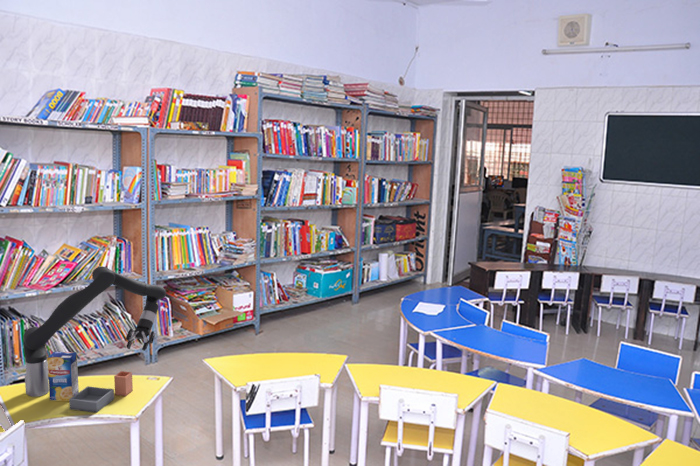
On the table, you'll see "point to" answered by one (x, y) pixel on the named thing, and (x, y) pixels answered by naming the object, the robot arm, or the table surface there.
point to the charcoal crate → (91, 399)
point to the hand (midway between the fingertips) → (135, 349)
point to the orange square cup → (123, 383)
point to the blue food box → (62, 375)
